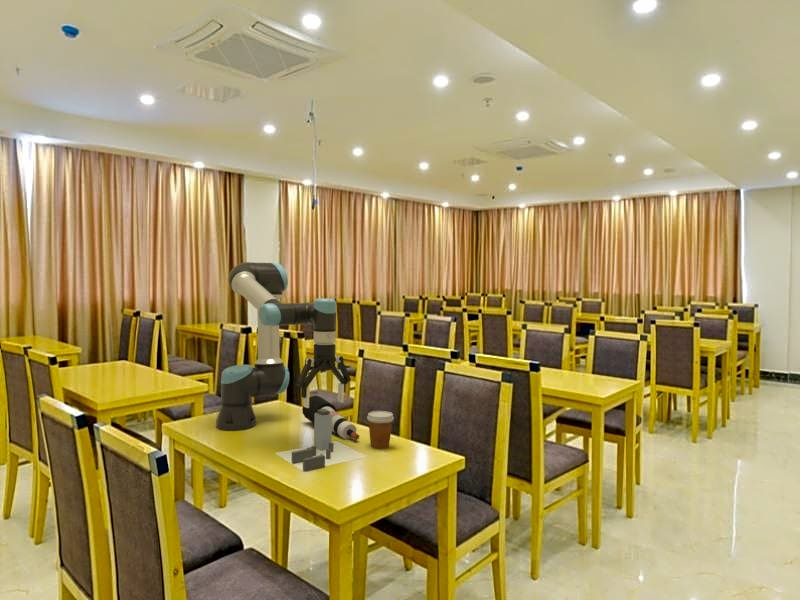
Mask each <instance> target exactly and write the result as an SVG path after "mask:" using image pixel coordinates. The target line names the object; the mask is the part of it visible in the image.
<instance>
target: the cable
mask: <svg viewBox="0 0 800 600" xmlns="http://www.w3.org/2000/svg"><path fill="white" fill-rule="evenodd" d="M319 409H326V410H328V411H329V414H332V433H334V434H336V435H337V436H339V437H340V438H342V439H344V440H347V439H353V440H355V441H358V440H359V439H360V435H359V434H358V433H357V427H356V425H354V424H353V423H352V422H351V421H349V420H347V418H346V417H344V416H343V415H342V414H340V413H339V412H337V408H336V407H335V405H334V404H332V403H331V402H329V401H327V400H326V399H325V398H323V397H322V396H319V395H312V396H309V408H306V407H303V406H302V410H301V411H302V415H303V416H304V418H305V419H307V420H308V421H309V422H311V423H312V424H314V420H315V413H317V410H319Z"/></svg>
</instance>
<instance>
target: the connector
mask: <svg viewBox="0 0 800 600" xmlns="http://www.w3.org/2000/svg"><path fill="white" fill-rule="evenodd" d="M313 424H314V427H313V428H314V429H313V430H314V431H313V433H314V434H313V446H316V448H317V449H318V450H320V451H323V450H326V449H329V443H331V442H332V435H333V434H332V433H333V432H332V414H329V411H328V410H326V409H319V410H317V413H315V420H314V423H313Z"/></svg>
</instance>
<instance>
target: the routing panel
mask: <svg viewBox="0 0 800 600" xmlns="http://www.w3.org/2000/svg"><path fill="white" fill-rule="evenodd" d="M274 455H277V456H278V457H280V458H281V459H282V460H285V461H286V462H287V463H289V464H290V465H292V466H294V467H295V468H297V469H298V470H300V471H301V472H308V471H312V470H317V469H320V468H325V467H329V466H333V465H338V464H341V463H346V462H352V461H354V460H360V459H363V458H367V457H368V456H367V455H365V454H363V453H361V452H359V451H357V450H355V449H353V448H352V447H350V446H347V445H345V444H343V443H341V442H339V441H336V440H335V441H331V443H329V449H326V450H323V451H320V450H318V449H317V448H316V446H314V445H310V446H304V447H299V448H298V447H297V448H295V449H289V450H283V451H279V452H278V451H277V452H275V453H274Z"/></svg>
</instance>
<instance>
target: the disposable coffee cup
mask: <svg viewBox="0 0 800 600" xmlns="http://www.w3.org/2000/svg"><path fill="white" fill-rule="evenodd" d="M366 418H367V422H368V429H369V431H368V432H369V441H370V442H369V443H370V447H371V448H372V449H375V450H384V449H387V448H389V446H390V440H391V435H392V428H393V427H392V426H393V422H394V419H395V417H394V413H393V412H391V411H385V410H373V411H370V412H368V414H367V416H366Z"/></svg>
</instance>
